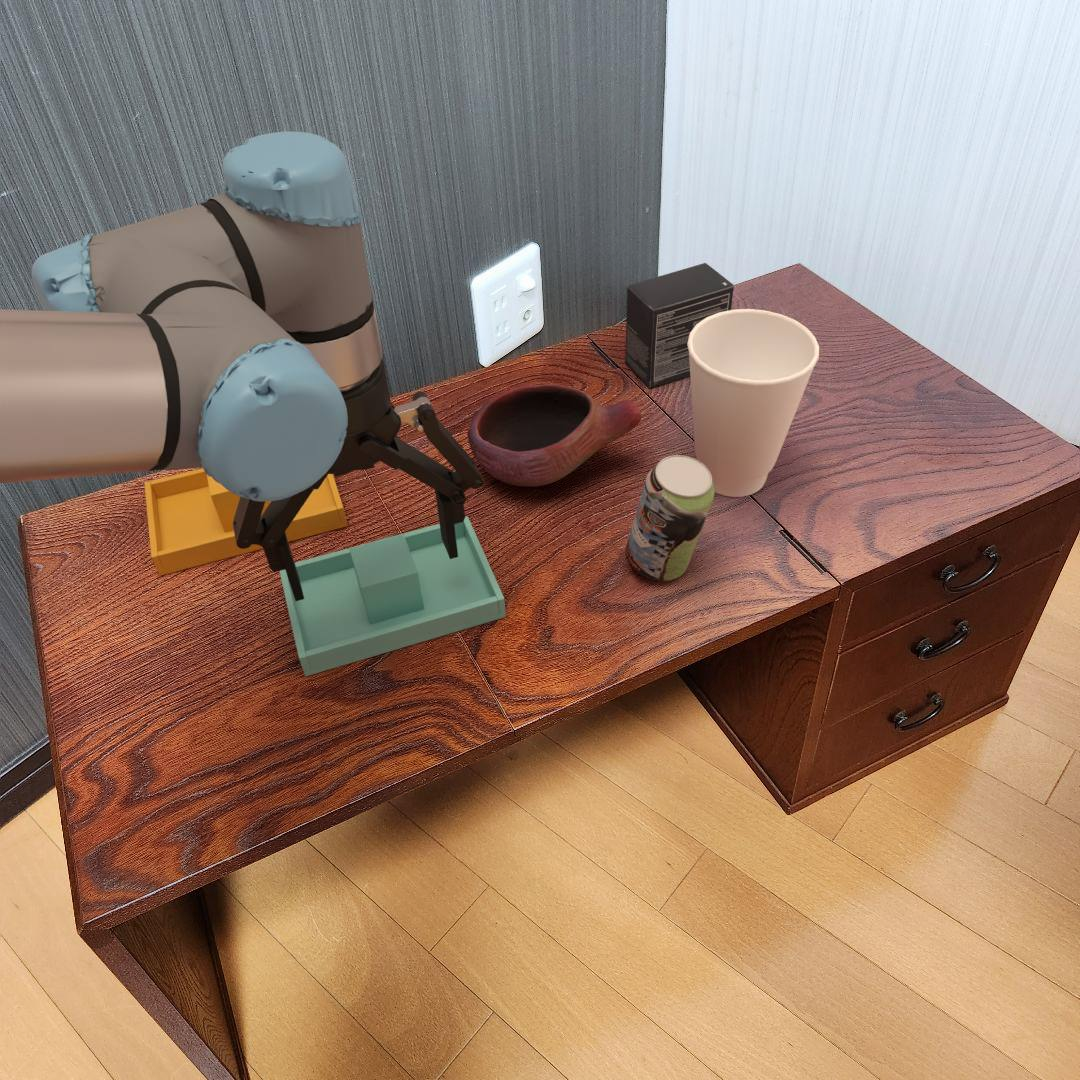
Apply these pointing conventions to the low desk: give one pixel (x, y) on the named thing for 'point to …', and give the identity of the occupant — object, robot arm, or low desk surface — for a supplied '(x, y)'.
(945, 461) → the low desk surface
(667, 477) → the beverage can
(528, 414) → the bowl
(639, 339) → the small box
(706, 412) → the cup
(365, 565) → the teal block
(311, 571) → the teal tray
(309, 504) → the ochre tray
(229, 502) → the ochre block
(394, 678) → the low desk surface
